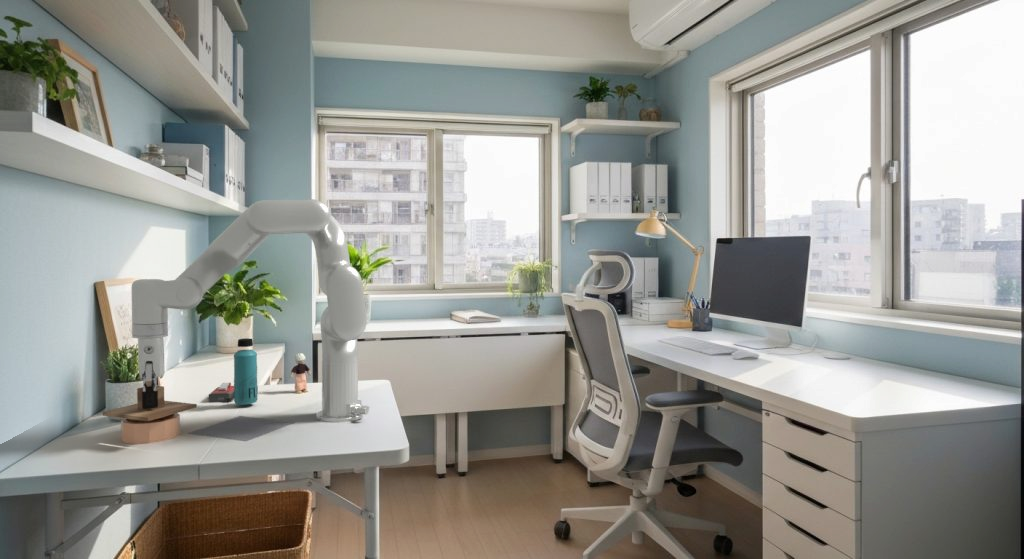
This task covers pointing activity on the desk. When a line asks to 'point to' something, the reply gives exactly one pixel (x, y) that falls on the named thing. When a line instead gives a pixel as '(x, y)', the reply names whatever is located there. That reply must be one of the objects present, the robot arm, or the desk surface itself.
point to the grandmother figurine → (300, 374)
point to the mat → (241, 428)
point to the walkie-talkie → (222, 393)
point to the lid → (151, 413)
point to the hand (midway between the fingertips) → (151, 404)
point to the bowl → (150, 429)
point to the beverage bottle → (245, 374)
